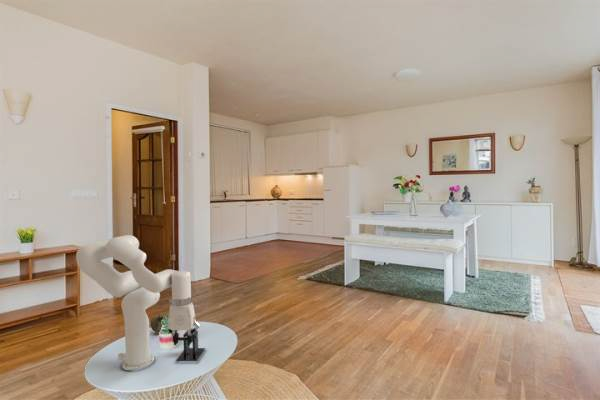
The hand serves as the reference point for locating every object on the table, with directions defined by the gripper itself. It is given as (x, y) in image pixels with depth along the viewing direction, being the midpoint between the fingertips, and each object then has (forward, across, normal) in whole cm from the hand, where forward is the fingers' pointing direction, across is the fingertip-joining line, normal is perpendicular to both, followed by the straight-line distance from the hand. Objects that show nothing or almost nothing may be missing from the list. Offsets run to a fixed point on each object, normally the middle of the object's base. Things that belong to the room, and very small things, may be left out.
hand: (182, 343), depth 142 cm
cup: (+10, -26, +33) cm, 43 cm away
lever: (+1, 0, +4) cm, 5 cm away
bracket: (+10, 0, +9) cm, 14 cm away
